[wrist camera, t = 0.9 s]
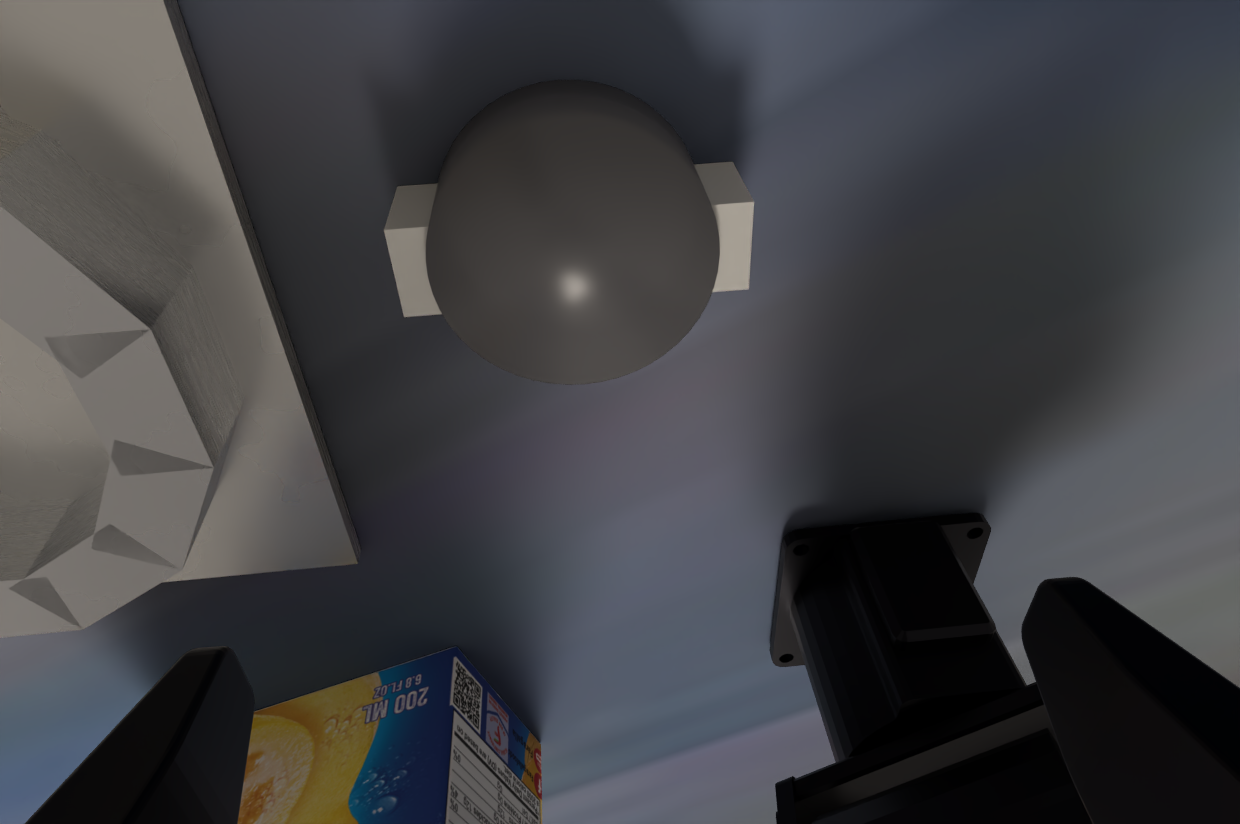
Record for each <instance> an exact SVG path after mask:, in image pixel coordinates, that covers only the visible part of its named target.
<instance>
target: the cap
mask: <svg viewBox="0 0 1240 824" xmlns="http://www.w3.org/2000/svg"><path fill="white" fill-rule="evenodd" d="M753 212H754V201H753V199H752V197H751V195H750V193H749V191H748V190H747V188H746V186H745V184H744V182H743V180H742V178H741V176H740V175H739V173H738V171H737V169H736V167H735V165H734V163H733V162H720V163H706V164H694V163H693V161H692V159H691V157H690V155H689V153H688V151H687V149H686V147H685V145H684V143H683V141H682V140H681V138H680V137H679V136H678V134H677V133H676V131H675V130H674V128H673V127H672V126H671V125H670V124H669V123H668V122H667V121H666V120H665V119H664V118H663V117H662V116H661V115H660V114H659V113H658V112H656V111H655V110H654V109H653V108H652V107H650V106H649V105H648V104H646V103H645V102H643V101H641V100H640V99H638V98H636V97H635V96H633V95H631V94H629V93H627V92H624V91H622V90H620V89H617V88H615V87H612V86H608V85H604V84H601V83H597V82H590V81H583V80H554V81H547V82H540V83H536V84H532V85H529V86H525V87H522V88H519V89H517V90H515V91H512V92H510V93H508V94H506V95H504V96H502V97H500V98H499V99H497V100H495V101H494V102H492V103H490V104H489V105H487V106H486V107H485V108H484V109H483V110H481V111H480V112H479V113H478V114H477V115H475V116H474V117H473V118H472V119H471V120H470V122H469V123H468V124H467V125H466V126H465V127H464V128H463V129H462V130H461V132H460V133H459V135H458V136H457V138H456V139H455V141H454V142H453V144H452V145H451V147H450V149H449V151H448V154H447V156H446V158H445V160H444V163H443V166H442V169H441V172H440V175H439V179H438V183H435V184H422V185H408V186H397V189H396V192H395V196H394V199H393V202H392V205H391V209H390V212H389V215H388V218H387V222H386V225H385V228H384V233H385V237H386V241H387V246H388V250H389V254H390V259H391V263H392V267H393V272H394V276H395V280H396V284H397V289H398V293H399V297H400V302H401V306H402V310H403V315H404V317H412V316H425V315H437V314H442V315H443V316H444V318H445V320H446V321H447V323H448V324H449V326H450V327H451V328H452V329H453V331H454V332H455V333H456V334H457V335H458V337H459V338H460V339H461V340H462V341H463V342H464V343H465V344H466V345H467V346H469V347H470V348H471V349H472V350H473V351H474V352H476V353H477V354H478V355H480V356H481V357H482V358H484V359H485V360H487V361H488V362H490V363H492V364H494V365H496V366H497V367H499V368H501V369H503V370H505V371H508V372H510V373H512V374H515V375H517V376H521V377H524V378H527V379H531V380H535V381H540V382H545V383H552V384H565V385H572V384H589V383H596V382H603V381H607V380H611V379H615V378H619V377H621V376H624V375H627V374H630V373H632V372H635V371H637V370H639V369H641V368H643V367H645V366H647V365H649V364H651V363H652V362H654V361H655V360H657V359H658V358H660V357H662V356H663V355H665V354H666V353H667V352H668V351H669V350H671V349H672V348H673V347H674V346H675V345H677V344H678V343H679V342H680V341H681V340H682V339H683V338H684V337H685V335H686V334H687V333H688V332H689V331H690V330H691V329H692V327H693V326H694V324H695V323H696V322H697V320H698V319H699V318H700V316H701V314H702V312H703V311H704V309H705V307H706V305H707V303H708V301H709V299H710V296H711V294H712V292H720V291H732V290H745V289H749V276H750V260H751V244H752V228H753Z"/></svg>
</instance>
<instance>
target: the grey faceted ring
mask: <svg viewBox="0 0 1240 824" xmlns="http://www.w3.org/2000/svg"><path fill="white" fill-rule="evenodd" d="M360 552H361V547H360V544H359V541H358V538H357V535H356V532H355V529H354V526H353V523H352V520H351V517H350V514H349V511H348V508H347V505H346V502H345V499H344V496H343V493H342V490H341V487H340V484H339V481H338V478H337V475H336V472H335V469H334V466H333V463H332V461H331V458H330V455H329V452H328V449H327V446H326V443H325V440H324V437H323V434H322V431H321V428H320V425H319V422H318V419H317V416H316V413H315V410H314V407H313V404H312V401H311V398H310V395H309V392H308V389H307V386H306V383H305V380H304V377H303V374H302V371H301V368H300V365H299V363H298V360H297V357H296V354H295V351H294V348H293V345H292V342H291V339H290V336H289V333H288V330H287V327H286V324H285V321H284V318H283V315H282V312H281V309H280V306H279V303H278V300H277V297H276V294H275V291H274V288H273V285H272V282H271V279H270V276H269V273H268V270H267V267H266V265H265V262H264V259H263V256H262V253H261V250H260V247H259V244H258V241H257V238H256V235H255V232H254V229H253V226H252V223H251V220H250V217H249V214H248V211H247V208H246V205H245V202H244V199H243V196H242V193H241V190H240V187H239V184H238V181H237V178H236V175H235V172H234V169H233V167H232V164H231V161H230V158H229V155H228V152H227V149H226V146H225V143H224V140H223V137H222V134H221V131H220V128H219V125H218V122H217V119H216V116H215V113H214V110H213V107H212V104H211V101H210V98H209V95H208V92H207V89H206V86H205V83H204V80H203V77H202V74H201V71H200V69H199V66H198V63H197V60H196V57H195V54H194V51H193V48H192V45H191V42H190V39H189V36H188V33H187V30H186V27H185V24H184V21H183V18H182V15H181V12H180V9H179V6H178V3H177V0H0V638H2V637H12V636H23V635H33V634H43V633H54V632H64V631H74V630H83V629H85V628H86V627H88V626H90V625H91V624H93V623H95V622H97V621H98V620H100V619H102V618H103V617H105V616H107V615H108V614H110V613H112V612H113V611H115V610H117V609H118V608H120V607H122V606H123V605H125V604H127V603H128V602H130V601H132V600H133V599H135V598H137V597H138V596H140V595H142V594H143V593H145V592H147V591H148V590H150V589H152V588H153V587H155V586H157V585H158V584H160V583H162V582H171V581H182V580H192V579H203V578H214V577H224V576H235V575H245V574H256V573H266V572H277V571H287V570H298V569H308V568H319V567H329V566H340V565H351V564H358V561H359V557H360Z"/></svg>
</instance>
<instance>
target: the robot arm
mask: <svg viewBox="0 0 1240 824" xmlns="http://www.w3.org/2000/svg"><path fill="white" fill-rule="evenodd" d="M990 532H991V527H990V525H989V524H988V522H987V520H986V519H985V517H984V516H983V515H982V514H980V513H966V514H955V515H945V516H934V517H924V518H913V519H903V520H892V521H882V522H871V523H861V524H850V525H840V526H829V527H819V528H808V529H799V530H794V531H792V532H790V533H788V534H787V535H786V536H785V537H784V538H783V541H782V547H781V556H780V565H779V573H778V582H777V591H776V599H775V608H774V617H773V625H772V634H771V643H770V654H771V658H772V661H773V663H774V664H775V665H776V666H779V667H789V666H798V665H805V666H806V669H807V672H808V675H809V679H810V682H811V685H812V688H813V691H814V694H815V698H816V701H817V704H818V707H819V710H820V714H821V717H822V720H823V723H824V726H825V729H826V733H827V736H828V739H829V742H830V745H831V749H832V752H833V755H834V758H835V761H836V763H834V764H831V765H829V766H826V767H824V768H821V769H819V770H816V771H814V772H811V773H809V774H806V775H804V776H801V777H799V778H794V777H793V776H792V777H790V778H787V779H785V780H782V781H780V782H777V783H776V784H775V788H776V799H777V810H778V812H776V821H777V824H1240V688H1239V687H1238V686H1236V685H1235V684H1233V683H1232V682H1231V681H1229V680H1228V679H1226V678H1225V677H1223V676H1222V675H1221V674H1219V673H1218V672H1216V671H1215V670H1213V669H1212V668H1211V667H1209V666H1208V665H1206V664H1205V663H1203V662H1202V661H1201V660H1199V659H1198V658H1196V657H1195V656H1193V655H1192V654H1191V653H1189V652H1188V651H1186V650H1185V649H1183V648H1182V647H1181V646H1179V645H1178V644H1176V643H1175V642H1174V641H1172V640H1171V639H1169V638H1168V637H1166V636H1165V635H1164V634H1162V633H1161V632H1159V631H1158V630H1156V629H1155V628H1154V627H1152V626H1151V625H1149V624H1148V623H1146V622H1145V621H1144V620H1142V619H1141V618H1139V617H1138V616H1136V615H1135V614H1134V613H1132V612H1131V611H1129V610H1128V609H1126V608H1125V607H1124V606H1122V605H1121V604H1119V603H1118V602H1117V601H1115V600H1114V599H1112V598H1111V597H1109V596H1108V595H1107V594H1105V593H1104V592H1102V591H1101V590H1099V589H1098V588H1097V587H1095V586H1094V585H1092V584H1091V583H1089V582H1088V581H1086V580H1084V579H1082V578H1078V577H1066V578H1054V579H1047V580H1044V581H1043V582H1042V583H1041V584H1040V585H1039V586H1038V588H1037V591H1036V593H1035V595H1034V598H1033V600H1032V602H1031V605H1030V607H1029V609H1028V612H1027V614H1026V616H1025V619H1024V621H1023V624H1022V631H1021V632H1022V641H1023V645H1024V649H1025V651H1026V654H1027V657H1028V660H1029V663H1030V666H1031V668H1032V671H1033V674H1034V677H1035V680H1036V682H1035V683H1032V684H1030V685H1026V683H1025V681H1024V679H1023V677H1022V676H1021V674H1020V672H1019V670H1018V668H1017V667H1016V665H1015V663H1014V661H1013V659H1012V657H1011V656H1010V654H1009V652H1008V650H1007V648H1006V647H1005V645H1004V643H1003V641H1002V639H1001V637H1000V636H999V634H998V632H997V630H996V626H995V623H994V621H993V619H992V617H991V616H990V614H989V612H988V610H987V608H986V607H985V605H984V603H983V601H982V599H981V598H980V596H979V594H978V592H977V590H976V588H975V587H974V585H973V583H974V580H975V577H976V574H977V571H978V568H979V565H980V562H981V559H982V556H983V553H984V550H985V547H986V544H987V541H988V538H989V535H990ZM801 544H802V545H801ZM798 545H800V546H798ZM253 715H254V695H253V690H252V688H251V685H250V683H249V681H248V679H247V677H246V675H245V673H244V671H243V669H242V667H241V665H240V663H239V661H238V659H237V657H236V655H235V653H234V651H233V650H232V649H230V648H229V647H227V646H217V647H204V648H196V649H192V650H190V651H188V652H186V653H185V654H184V655H183V656H182V657H180V659H179V660H178V661H177V662H176V663H175V664H174V665H173V666H172V667H171V668H170V669H169V670H168V671H167V672H166V673H165V675H164V676H163V677H162V678H161V679H160V680H159V681H158V682H157V683H156V684H155V685H154V686H153V687H152V688H151V689H150V691H149V692H148V693H147V694H146V695H145V696H144V697H143V698H142V699H141V700H140V701H139V702H138V703H137V704H136V705H135V707H134V708H133V709H132V710H131V711H130V712H129V713H128V714H127V715H126V716H125V717H124V718H123V719H122V720H121V721H120V722H119V724H118V725H117V726H116V727H115V728H114V729H113V730H112V731H111V732H110V733H109V734H108V735H107V736H106V737H105V738H104V740H103V741H102V742H101V743H100V744H99V745H98V746H97V747H96V748H95V749H94V750H93V751H92V752H91V753H90V754H89V756H88V757H87V758H86V759H85V760H84V761H83V762H82V763H81V764H80V765H79V766H78V767H77V768H76V769H75V770H74V772H73V773H72V774H71V775H70V776H69V777H68V778H67V779H66V780H65V781H64V782H63V783H62V784H61V785H60V786H59V788H58V789H57V790H56V791H55V792H54V793H53V794H52V795H51V796H50V797H49V798H48V799H47V800H46V801H45V802H44V804H43V805H42V806H41V807H40V808H39V809H38V810H37V811H36V812H35V813H34V814H33V815H32V816H31V817H30V818H29V819H28V821H27V822H26V823H25V824H238V817H239V811H240V804H241V797H242V790H243V783H244V776H245V770H246V763H247V756H248V749H249V742H250V736H251V729H252V722H253Z"/></svg>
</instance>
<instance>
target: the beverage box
mask: <svg viewBox="0 0 1240 824" xmlns="http://www.w3.org/2000/svg"><path fill="white" fill-rule="evenodd" d="M238 824H542V788H541V744H540V743H539V741H538V740H537V739H536V738H535V737H534V736H533V734H532V733H531V732H530V731H529V730H528V729H527V727H526V726H525V725H524V724H523V723H522V722H521V720H520V719H519V718H518V717H517V716H516V715H515V713H514V712H513V711H512V710H511V709H510V708H509V706H508V705H507V704H506V703H505V702H504V701H503V699H502V698H501V697H500V696H499V695H498V694H497V692H496V691H495V690H494V689H493V688H492V687H491V685H490V684H489V683H488V682H487V681H486V680H485V679H484V677H483V676H482V675H481V674H480V673H479V672H478V670H477V669H476V668H475V667H474V666H473V665H472V663H471V662H470V661H469V660H468V659H467V658H466V656H465V655H464V654H463V653H462V652H461V651H460V649H459V648H458V647H457V646H455V647H451V648H448V649H445V650H442V651H439V652H436V653H433V654H430V655H427V656H424V657H421V658H418V659H414V660H411V661H408V662H405V663H402V664H399V665H396V666H393V667H390V668H387V669H384V670H381V671H377V672H374V673H371V674H368V675H365V676H362V677H359V678H356V679H353V680H350V681H347V682H344V683H340V684H337V685H334V686H331V687H328V688H325V689H322V690H319V691H316V692H313V693H310V694H307V695H303V696H300V697H297V698H294V699H291V700H288V701H285V702H282V703H279V704H276V705H273V706H270V707H266V708H263V709H260V710H257V711H254V715H253V722H252V729H251V736H250V742H249V749H248V756H247V763H246V770H245V776H244V783H243V790H242V797H241V804H240V811H239V817H238Z"/></svg>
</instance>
